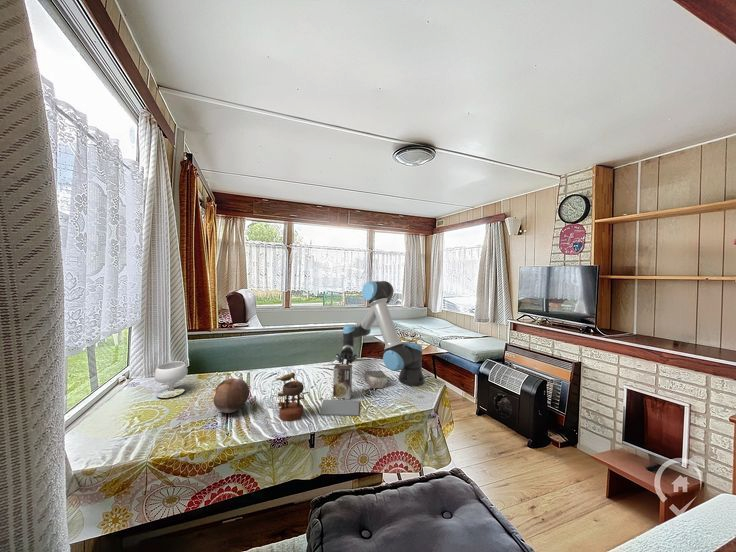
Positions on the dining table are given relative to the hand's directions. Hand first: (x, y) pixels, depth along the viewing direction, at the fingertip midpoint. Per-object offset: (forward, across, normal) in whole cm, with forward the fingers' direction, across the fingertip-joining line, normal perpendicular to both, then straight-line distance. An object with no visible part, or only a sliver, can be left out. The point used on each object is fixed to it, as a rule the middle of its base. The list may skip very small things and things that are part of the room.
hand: (344, 365), depth 155 cm
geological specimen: (-7, -19, -13) cm, 24 cm away
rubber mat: (+23, 0, -12) cm, 26 cm away
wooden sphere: (+27, +50, -13) cm, 58 cm away
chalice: (+13, +88, -13) cm, 90 cm away
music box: (+29, +21, -13) cm, 38 cm away
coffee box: (+10, 0, -13) cm, 16 cm away
